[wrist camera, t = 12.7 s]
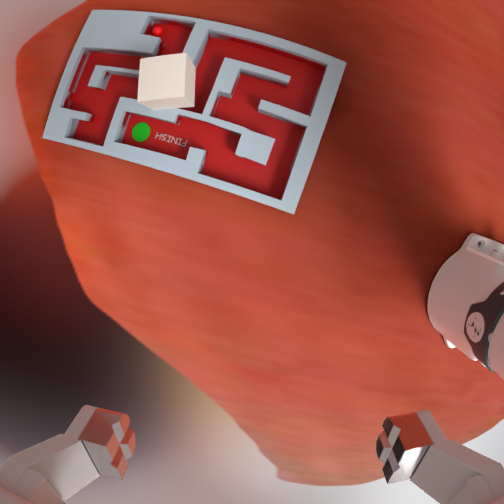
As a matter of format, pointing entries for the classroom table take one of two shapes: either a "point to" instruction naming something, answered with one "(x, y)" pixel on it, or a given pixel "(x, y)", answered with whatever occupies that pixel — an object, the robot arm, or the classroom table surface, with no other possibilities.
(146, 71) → the cream cube
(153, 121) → the maze game
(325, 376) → the classroom table surface
